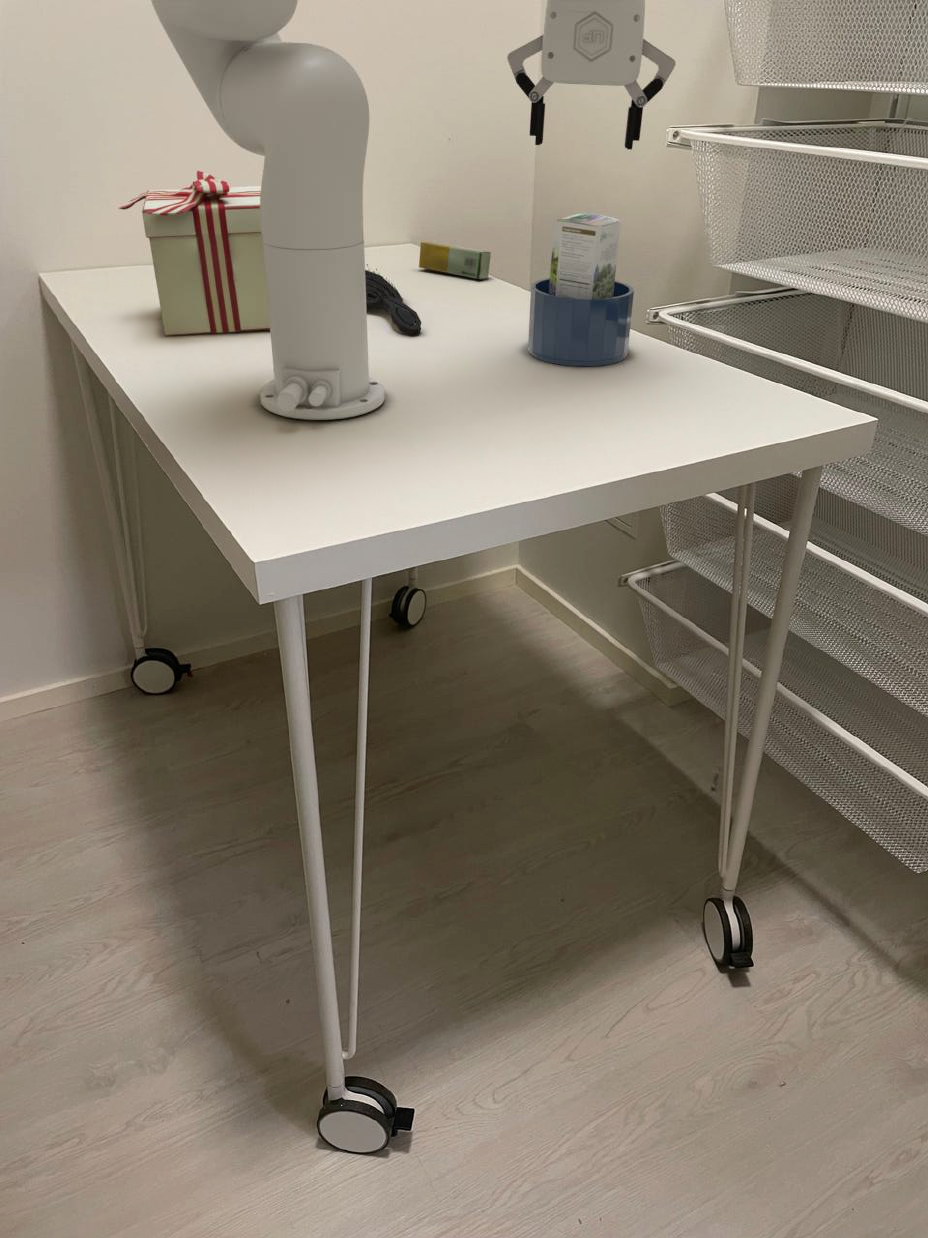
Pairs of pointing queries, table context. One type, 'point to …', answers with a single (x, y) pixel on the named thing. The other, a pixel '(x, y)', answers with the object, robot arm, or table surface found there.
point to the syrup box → (584, 256)
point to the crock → (579, 326)
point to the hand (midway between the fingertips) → (583, 145)
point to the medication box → (455, 260)
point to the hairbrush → (390, 303)
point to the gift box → (207, 256)
